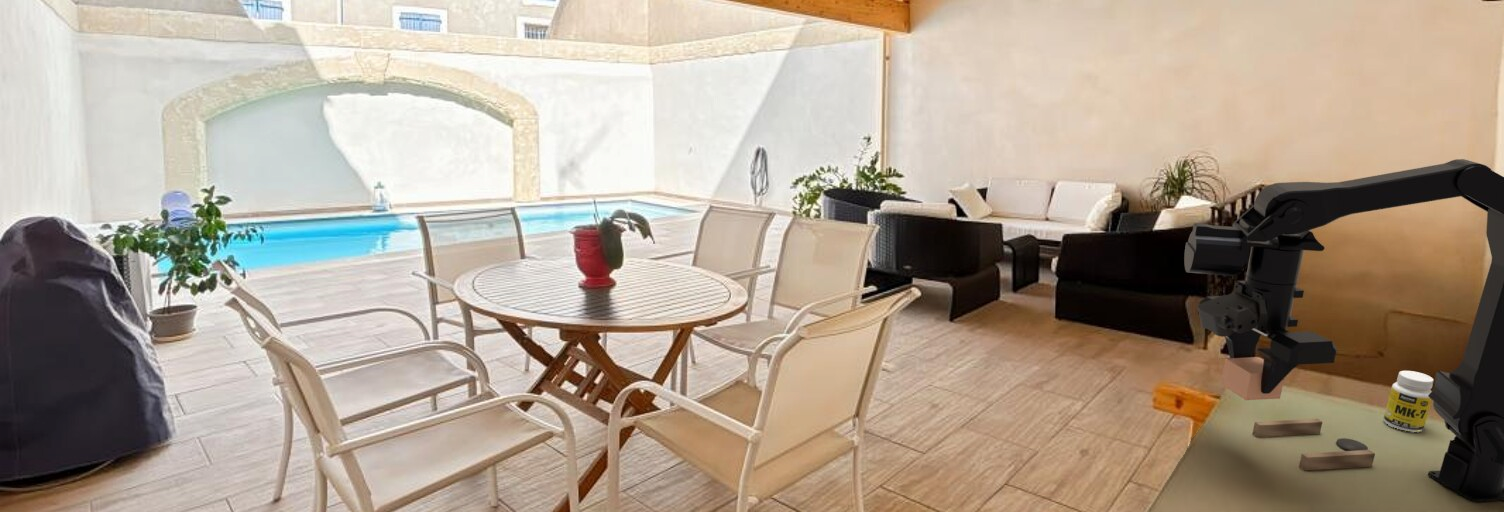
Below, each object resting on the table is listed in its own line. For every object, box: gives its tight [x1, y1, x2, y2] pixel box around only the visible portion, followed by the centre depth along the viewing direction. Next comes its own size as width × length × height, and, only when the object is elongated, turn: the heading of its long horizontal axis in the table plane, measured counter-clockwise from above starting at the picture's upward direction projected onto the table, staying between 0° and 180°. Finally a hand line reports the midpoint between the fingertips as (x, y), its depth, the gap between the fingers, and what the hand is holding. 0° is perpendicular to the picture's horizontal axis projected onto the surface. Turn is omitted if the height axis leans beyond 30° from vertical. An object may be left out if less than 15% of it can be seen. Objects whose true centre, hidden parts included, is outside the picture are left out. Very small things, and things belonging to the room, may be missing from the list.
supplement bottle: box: [1383, 370, 1435, 432], centre depth 114 cm, size 5×5×8 cm
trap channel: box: [1252, 418, 1376, 471], centre depth 109 cm, size 13×10×2 cm
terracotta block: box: [1220, 356, 1285, 401], centre depth 105 cm, size 5×5×4 cm
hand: (1251, 384), depth 105 cm, fingers closed on terracotta block, 5 cm apart
